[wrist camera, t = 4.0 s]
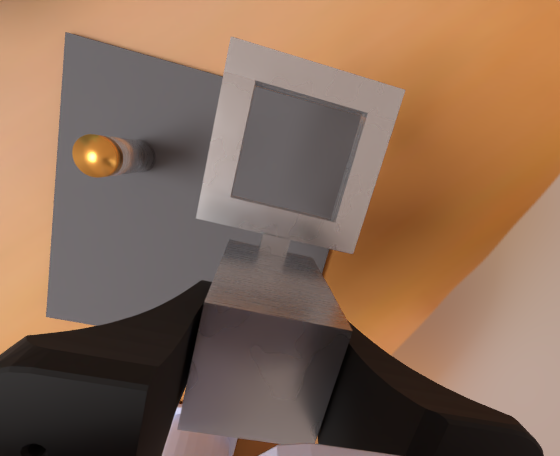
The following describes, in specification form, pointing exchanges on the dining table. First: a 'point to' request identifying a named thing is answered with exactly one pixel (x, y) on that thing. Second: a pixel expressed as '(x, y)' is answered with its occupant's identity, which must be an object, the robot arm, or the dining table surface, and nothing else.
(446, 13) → the dining table surface
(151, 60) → the mat
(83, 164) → the pin
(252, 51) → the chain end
